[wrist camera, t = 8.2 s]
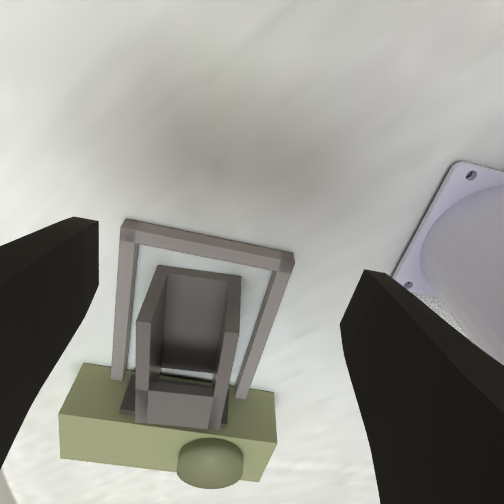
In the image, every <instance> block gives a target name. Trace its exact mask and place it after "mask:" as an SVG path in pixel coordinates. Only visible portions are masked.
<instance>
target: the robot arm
mask: <svg viewBox="0 0 504 504" xmlns="http://www.w3.org/2000/svg"><path fill="white" fill-rule="evenodd" d="M470 171H473V173H472V175H471V176H470V177H468V178H466V175H467V174H468V172H470ZM407 282H410V283H409V284H407V285H404V284H405V283H407ZM98 285H99V221H95V220H90V219H84V218H79V217H71V218H68V219H65V220H63V221H60V222H57V223H55V224H52V225H50V226H48V227H45V228H43V229H41V230H38V231H36V232H33V233H31V234H29V235H26V236H24V237H21V238H19V239H16V240H14V241H12V242H9V243H7V244H4V245H2V246H0V469H1V467H2V465H3V463H4V461H5V458H6V456H7V454H8V452H9V450H10V448H11V446H12V444H13V442H14V439H15V437H16V435H17V433H18V431H19V429H20V427H21V425H22V423H23V421H24V419H25V417H26V415H27V413H28V411H29V409H30V407H31V405H32V403H33V401H34V400H35V398H36V396H37V394H38V393H39V391H40V389H41V387H42V386H43V384H44V383H45V381H46V379H47V378H48V376H49V375H50V373H51V371H52V370H53V368H54V366H55V365H56V363H57V362H58V360H59V358H60V357H61V355H62V354H63V352H64V350H65V349H66V347H67V345H68V344H69V342H70V341H71V339H72V337H73V336H74V334H75V332H76V331H77V329H78V327H79V326H80V324H81V322H82V321H83V319H84V317H85V315H86V313H87V311H88V309H89V306H90V304H91V302H92V300H93V297H94V295H95V293H96V290H97V288H98ZM412 293H415V294H420V295H425V296H430V297H435V298H440V300H441V301H442V302H443V304H444V305H445V307H446V308H447V309H448V311H449V312H450V314H451V315H452V317H453V318H454V319H455V321H456V322H457V324H458V325H459V326H460V328H461V329H462V331H463V332H464V333H465V335H466V336H467V338H468V339H467V338H466V337H465V336H463V335H462V334H461V333H460V332H458V331H457V330H456V329H454V328H453V327H452V326H451V325H449V324H448V323H447V322H446V321H445V320H443V319H442V318H441V317H440V316H438V315H437V314H436V313H435V312H434V311H432V310H431V309H430V308H429V307H428V306H426V305H425V304H424V303H423V302H422V301H420V300H419V299H418V298H417V297H416V296H414V295H413V294H412ZM340 329H341V338H342V345H343V351H344V357H345V361H346V364H347V368H348V371H349V375H350V378H351V382H352V385H353V389H354V392H355V395H356V399H357V402H358V405H359V409H360V412H361V416H362V419H363V422H364V426H365V429H366V433H367V437H368V441H369V445H370V449H371V453H372V459H373V464H374V469H375V475H376V480H377V485H378V491H379V497H380V503H381V504H504V172H503V171H499V170H495V169H491V168H487V167H483V166H480V165H476V164H472V163H468V162H462V161H460V162H457V163H456V164H454V165H453V166H452V167H451V169H450V170H449V172H448V174H447V176H446V178H445V180H444V181H443V183H442V185H441V187H440V189H439V191H438V193H437V194H436V196H435V198H434V200H433V202H432V204H431V206H430V207H429V209H428V211H427V213H426V215H425V217H424V219H423V220H422V222H421V224H420V226H419V228H418V230H417V232H416V233H415V235H414V237H413V239H412V241H411V243H410V245H409V246H408V248H407V250H406V252H405V254H404V256H403V258H402V259H401V261H400V263H399V265H398V267H397V269H396V271H395V272H394V274H393V276H392V277H390V276H389V275H387V274H386V273H381V272H376V271H370V270H365V269H364V271H363V274H362V276H361V278H360V280H359V283H358V285H357V287H356V289H355V291H354V294H353V296H352V298H351V300H350V303H349V305H348V307H347V309H346V311H345V314H344V316H343V318H342V320H341V323H340Z"/></svg>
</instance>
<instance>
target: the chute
mask: <svg viewBox="0 0 504 504" xmlns="http://www.w3.org/2000/svg"><path fill="white" fill-rule="evenodd" d="M240 292H241V276H235V275H228V274H221V273H213V272H206V271H199V270H191V269H184V268H176V267H169V266H162V265H158V266H157V268H156V271H155V274H154V276H153V279H152V281H151V284H150V287H149V289H148V292H147V294H146V297H145V299H144V302H143V305H142V307H141V310H140V312H139V315H138V318H137V320H136V387H135V422H138V423H149V424H159V425H170V426H180V427H191V428H201V429H212V430H219V429H220V424H221V419H222V414H223V410H224V405H225V400H226V395H227V390H228V385H229V381H230V376H231V371H232V366H233V361H234V356H235V351H236V347H237V342H238V337H239V324H240ZM161 368H171V369H180V370H189V371H198V372H207V373H213V382H212V388H207V387H198V386H189V385H179V384H170V383H160V382H158V379H159V376H160V372H161Z"/></svg>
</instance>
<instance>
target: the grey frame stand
mask: <svg viewBox="0 0 504 504" xmlns="http://www.w3.org/2000/svg"><path fill="white" fill-rule="evenodd" d="M139 244H142V245H147V246H152V247H157V248H162V249H167V250H172V251H177V252H182V253H187V254H192V255H197V256H202V257H207V258H212V259H217V260H222V261H227V262H232V263H237V264H242V265H247V266H252V267H257V268H262V269H267V270H272V271H273V273H272V276H271V279H270V282H269V285H268V288H267V292H266V295H265V298H264V301H263V304H262V307H261V310H260V313H259V316H258V319H257V322H256V325H255V328H254V331H253V334H252V337H251V340H250V343H249V346H248V349H247V352H246V355H245V358H244V361H243V364H242V367H241V370H240V373H239V376H238V379H237V382H236V385H235V386H228V390H227V395H226V400H225V405H224V410H223V414H222V419H221V424H220V429H219V430H212V429H201V428H191V427H180V426H170V425H159V424H149V423H138V422H135V387H136V371H131V370H127V359H128V349H129V338H130V328H131V318H132V307H133V297H134V286H135V276H136V265H137V255H138V245H139ZM294 264H295V260H294V255H293V253H289V252H284V251H279V250H274V249H269V248H264V247H260V246H255V245H250V244H245V243H240V242H235V241H231V240H226V239H221V238H216V237H211V236H207V235H202V234H197V233H192V232H187V231H182V230H178V229H173V228H168V227H163V226H158V225H153V224H149V223H144V222H139V221H134V220H129V219H126V220H125V221H124V223H123V224H122V226H121V227H120V243H119V258H118V274H117V289H116V305H115V320H114V335H113V351H112V366H111V367H105V366H99V365H92V364H86V363H83V365H82V367H81V369H80V371H79V373H78V375H77V377H76V379H75V381H74V383H73V385H72V387H71V389H70V391H69V393H68V395H67V397H66V399H65V402H64V404H63V406H62V408H61V410H60V412H59V414H58V416H59V436H60V457H61V458H62V459H71V460H79V461H87V462H96V463H104V464H112V465H120V466H129V467H137V468H145V469H153V470H162V471H170V472H177V475H178V476H179V478H180V479H181V480H182V481H184V482H185V483H187V484H189V485H192V486H195V487H198V488H204V489H218V488H224V487H228V486H230V485H233V484H235V483H236V482H237V481H239V480H245V481H253V482H259V481H260V479H261V476H262V474H263V472H264V470H265V468H266V466H267V464H268V462H269V460H270V458H271V456H272V453H273V451H274V449H275V447H276V445H277V432H276V418H275V404H274V393H273V392H267V391H260V390H254V389H249V388H250V386H251V383H252V380H253V377H254V375H255V372H256V369H257V366H258V364H259V361H260V358H261V355H262V353H263V350H264V347H265V344H266V341H267V339H268V336H269V333H270V330H271V328H272V325H273V322H274V319H275V317H276V314H277V311H278V308H279V306H280V303H281V300H282V297H283V295H284V292H285V289H286V286H287V284H288V281H289V278H290V275H291V272H292V270H293V267H294ZM158 382H160V383H170V384H179V385H189V386H198V387H207V388H212V383H209V382H202V381H196V380H189V379H183V378H176V377H170V376H163V375H160V376H159V379H158Z"/></svg>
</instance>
